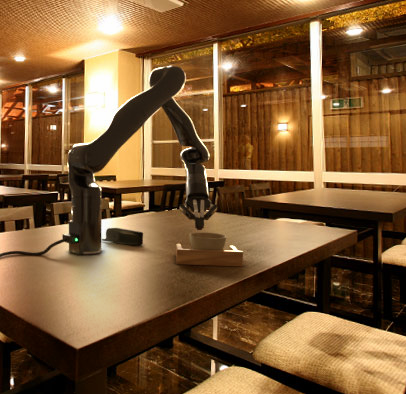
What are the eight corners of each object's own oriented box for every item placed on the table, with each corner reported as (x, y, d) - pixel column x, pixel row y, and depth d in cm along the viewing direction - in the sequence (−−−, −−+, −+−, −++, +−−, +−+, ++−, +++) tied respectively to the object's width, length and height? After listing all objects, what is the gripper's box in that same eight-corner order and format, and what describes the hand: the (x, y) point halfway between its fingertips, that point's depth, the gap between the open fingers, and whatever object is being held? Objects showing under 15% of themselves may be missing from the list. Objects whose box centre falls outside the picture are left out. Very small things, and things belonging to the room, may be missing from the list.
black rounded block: (144, 230, 132) (105, 225, 140) (140, 232, 129) (100, 227, 137) (143, 245, 132) (104, 239, 140) (139, 247, 130) (100, 241, 138)
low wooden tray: (242, 266, 105) (243, 251, 105) (176, 264, 108) (176, 249, 107) (234, 257, 115) (235, 243, 115) (174, 255, 118) (174, 242, 117)
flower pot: (227, 265, 106) (228, 239, 106) (189, 263, 108) (189, 237, 108) (223, 256, 116) (224, 232, 115) (188, 255, 118) (189, 231, 117)
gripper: (178, 181, 138) (179, 221, 127) (217, 181, 136) (222, 222, 125) (177, 195, 144) (178, 234, 133) (214, 195, 142) (219, 235, 131)
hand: (199, 228), depth 129 cm, fingers closed
